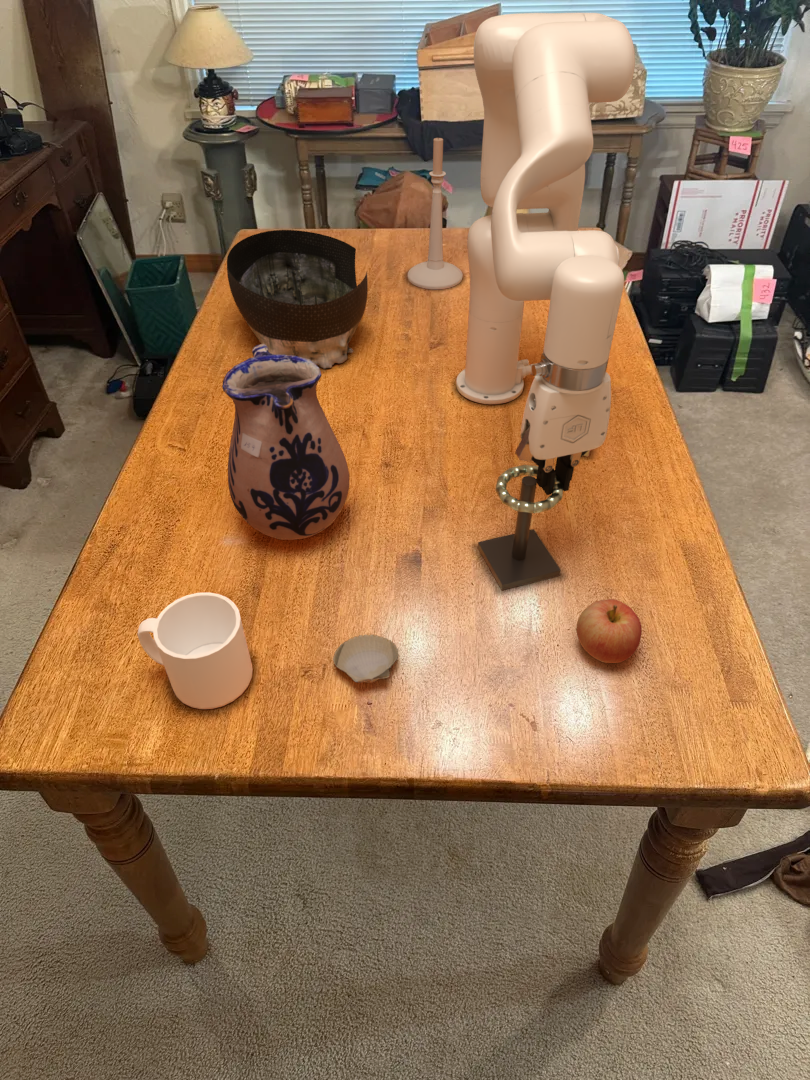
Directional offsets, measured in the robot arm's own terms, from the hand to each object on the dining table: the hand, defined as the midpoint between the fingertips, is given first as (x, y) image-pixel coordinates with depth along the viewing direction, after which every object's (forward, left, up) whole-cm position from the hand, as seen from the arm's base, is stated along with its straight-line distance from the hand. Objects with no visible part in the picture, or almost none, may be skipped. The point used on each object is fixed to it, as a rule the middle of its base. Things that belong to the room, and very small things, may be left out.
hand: (552, 485), depth 102 cm
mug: (+50, +6, -13) cm, 52 cm away
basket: (+19, -75, -13) cm, 78 cm away
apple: (0, +18, -13) cm, 23 cm away
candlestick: (-16, -91, -13) cm, 93 cm away
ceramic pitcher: (+33, -21, -13) cm, 41 cm away
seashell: (+30, +11, -13) cm, 34 cm away
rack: (+4, 0, -13) cm, 14 cm away
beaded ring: (+4, 0, 0) cm, 4 cm away
